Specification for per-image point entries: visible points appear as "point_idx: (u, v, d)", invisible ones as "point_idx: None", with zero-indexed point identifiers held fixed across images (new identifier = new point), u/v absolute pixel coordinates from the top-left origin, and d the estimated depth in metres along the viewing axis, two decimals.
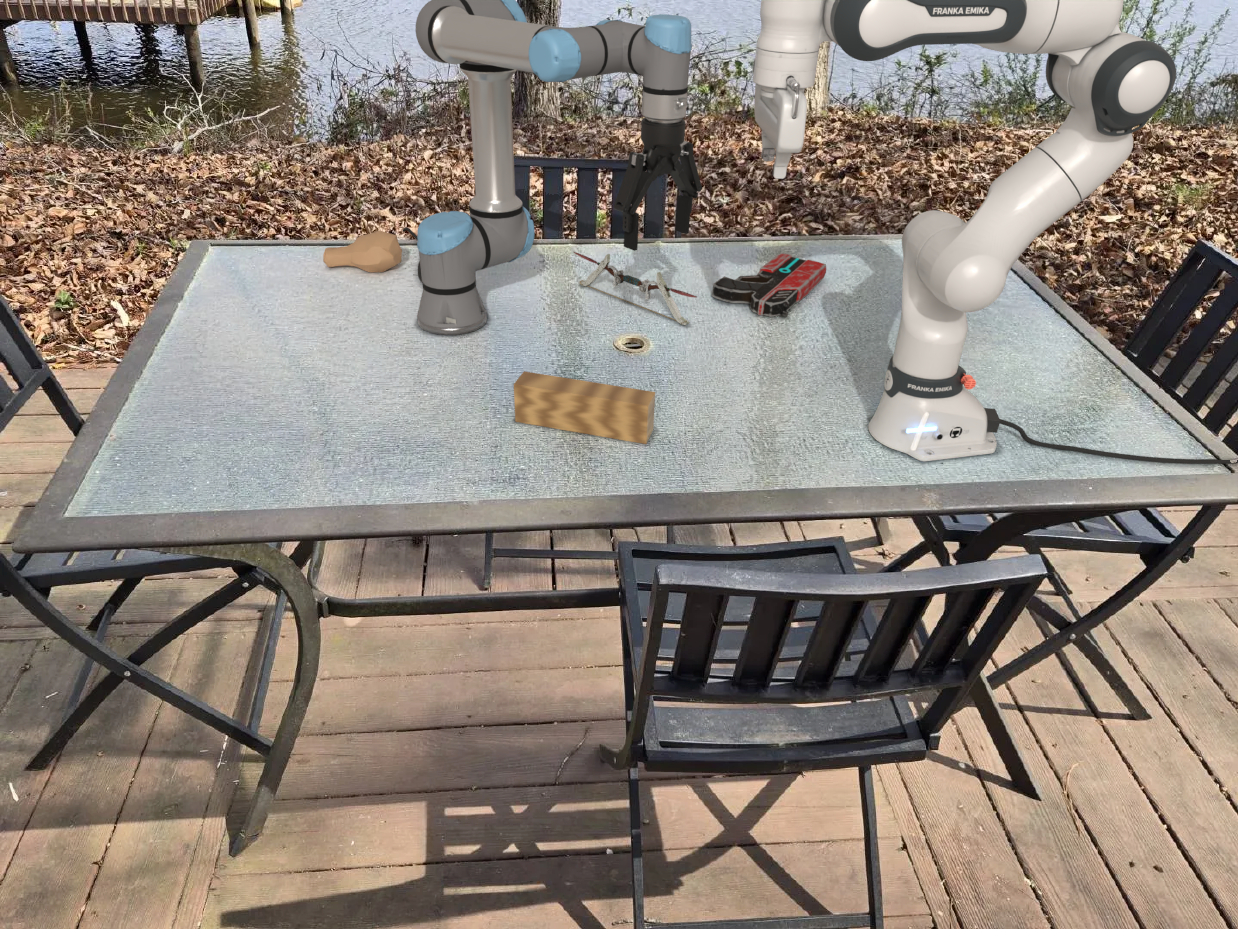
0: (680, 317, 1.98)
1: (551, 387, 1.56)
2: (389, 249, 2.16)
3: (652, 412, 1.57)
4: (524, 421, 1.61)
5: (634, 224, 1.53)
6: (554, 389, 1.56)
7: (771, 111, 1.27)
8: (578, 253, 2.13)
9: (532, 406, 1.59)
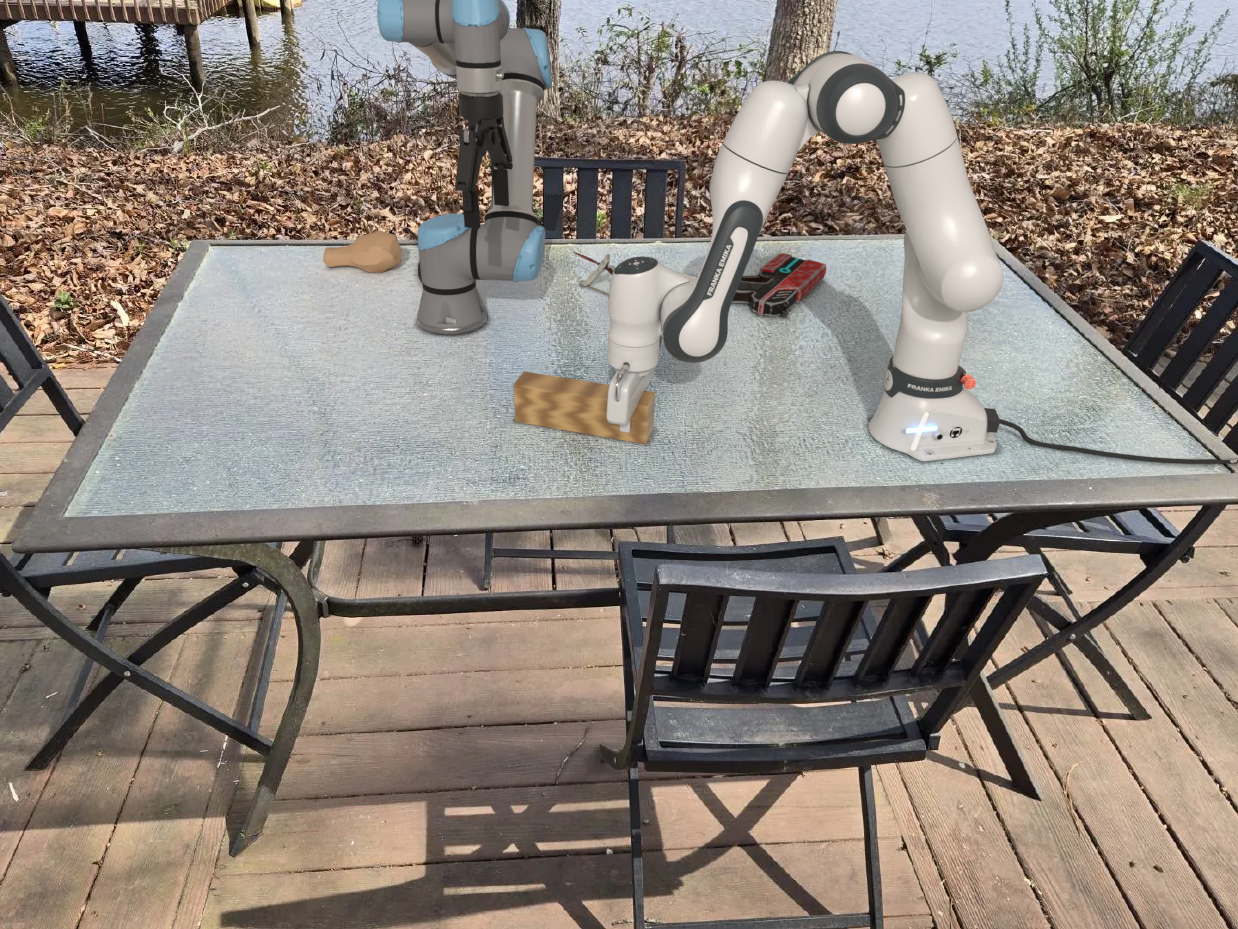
0: None
1: (551, 388, 1.56)
2: (389, 249, 2.16)
3: (652, 412, 1.57)
4: (524, 421, 1.61)
5: (476, 202, 1.52)
6: (554, 389, 1.56)
7: None
8: (578, 253, 2.13)
9: (532, 406, 1.59)
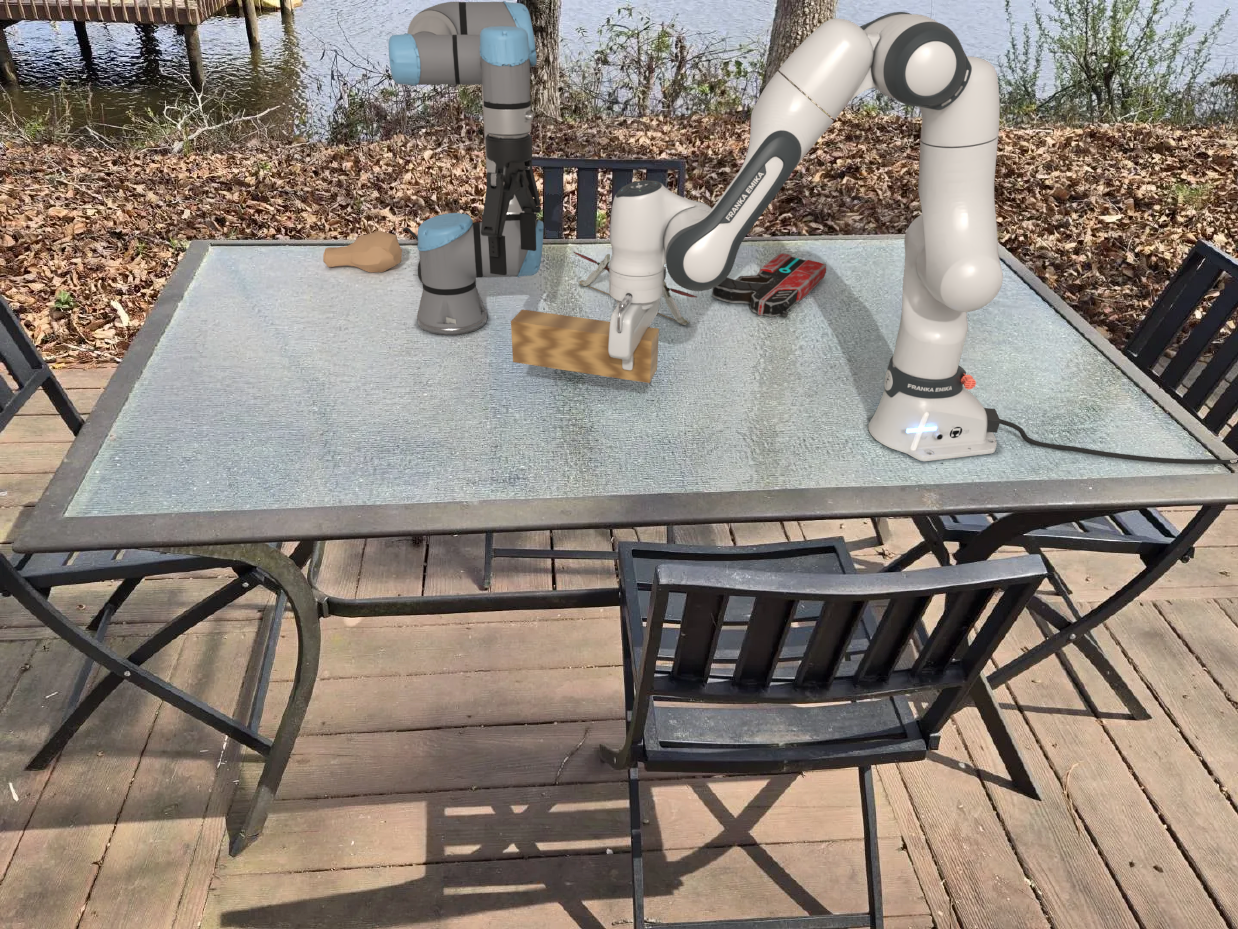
0: (680, 317, 1.98)
1: (550, 324, 1.50)
2: (389, 249, 2.16)
3: (656, 350, 1.50)
4: (522, 361, 1.54)
5: (503, 247, 1.44)
6: (553, 325, 1.49)
7: None
8: (578, 253, 2.13)
9: (531, 344, 1.52)
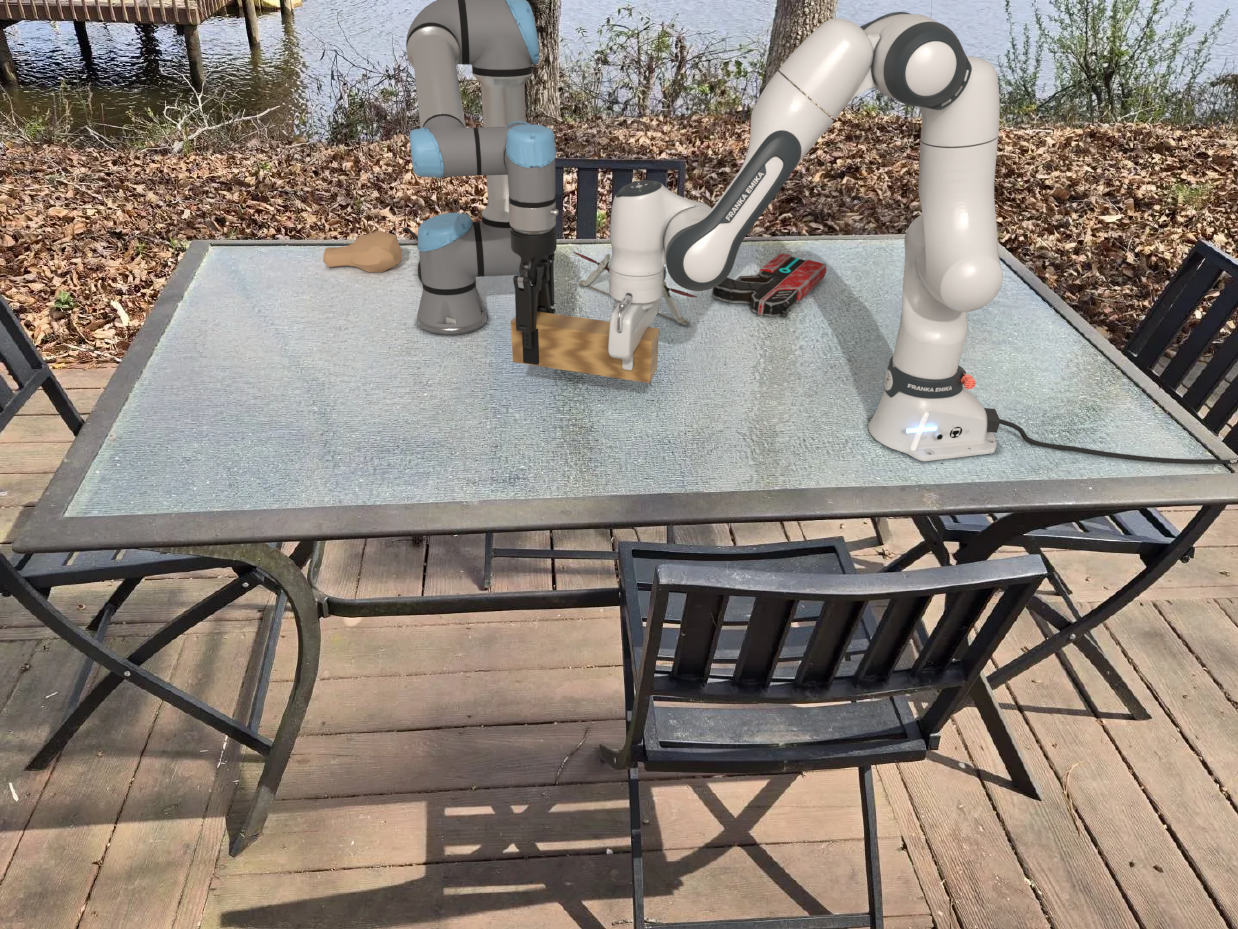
0: (680, 317, 1.98)
1: (550, 324, 1.50)
2: (389, 249, 2.16)
3: (656, 350, 1.50)
4: (522, 361, 1.54)
5: (536, 340, 1.50)
6: (553, 325, 1.49)
7: None
8: (578, 253, 2.13)
9: None
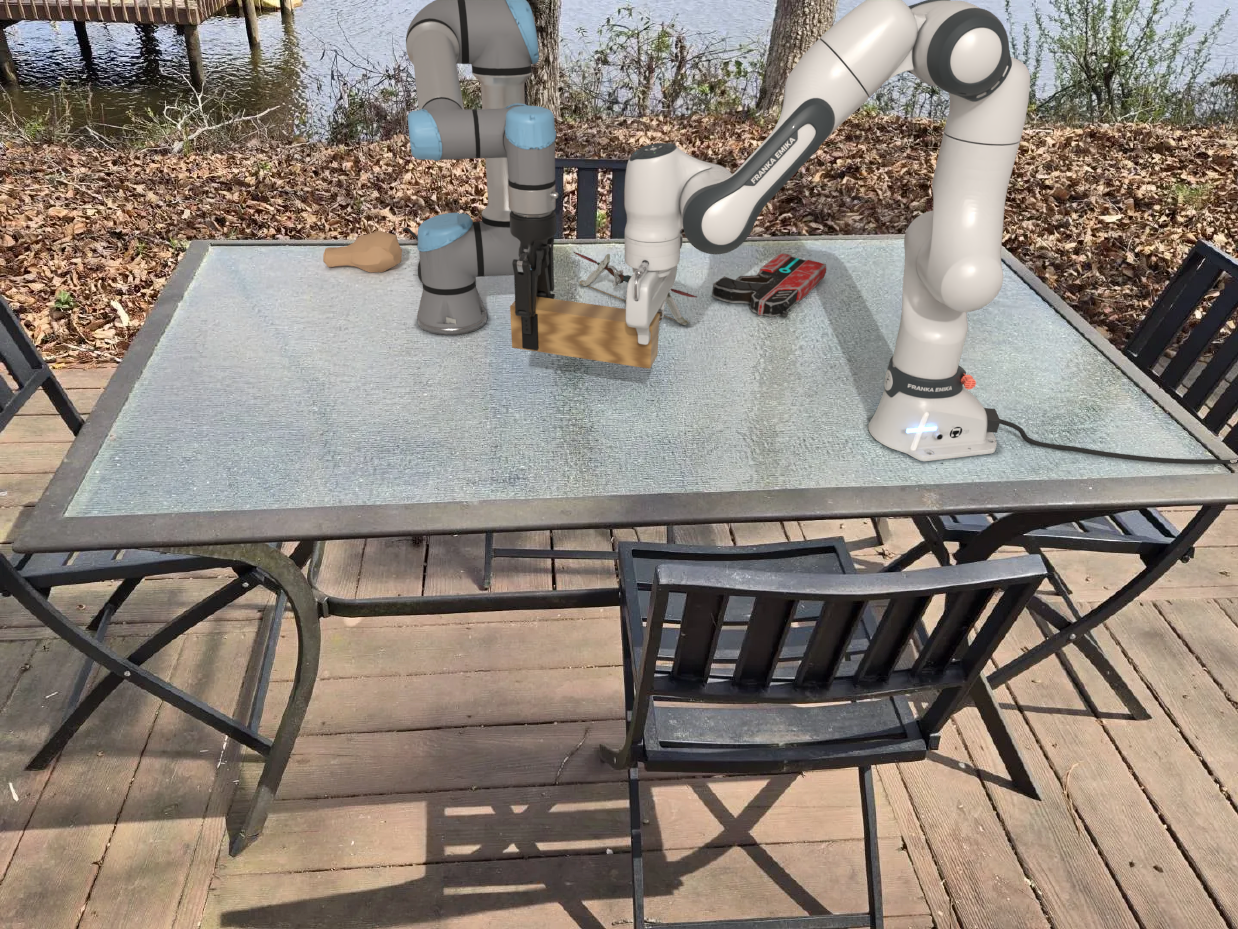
0: (680, 317, 1.98)
1: (549, 309, 1.48)
2: (389, 249, 2.16)
3: (656, 335, 1.48)
4: (521, 347, 1.53)
5: (535, 325, 1.49)
6: (552, 310, 1.48)
7: None
8: (578, 253, 2.13)
9: None
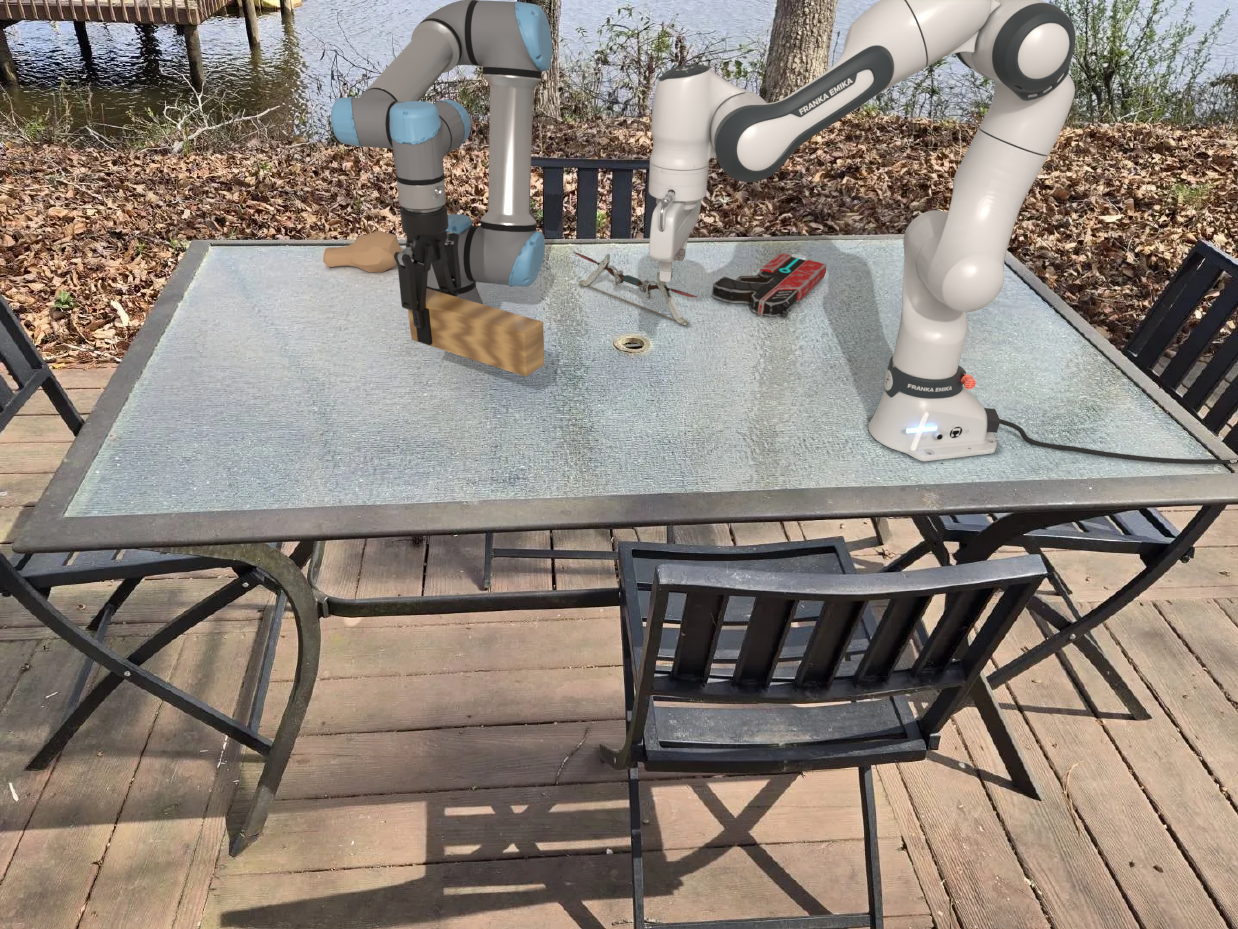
0: (680, 317, 1.98)
1: (440, 305, 1.48)
2: (389, 249, 2.16)
3: (538, 343, 1.44)
4: None
5: (426, 320, 1.49)
6: (442, 307, 1.48)
7: None
8: (578, 253, 2.13)
9: None
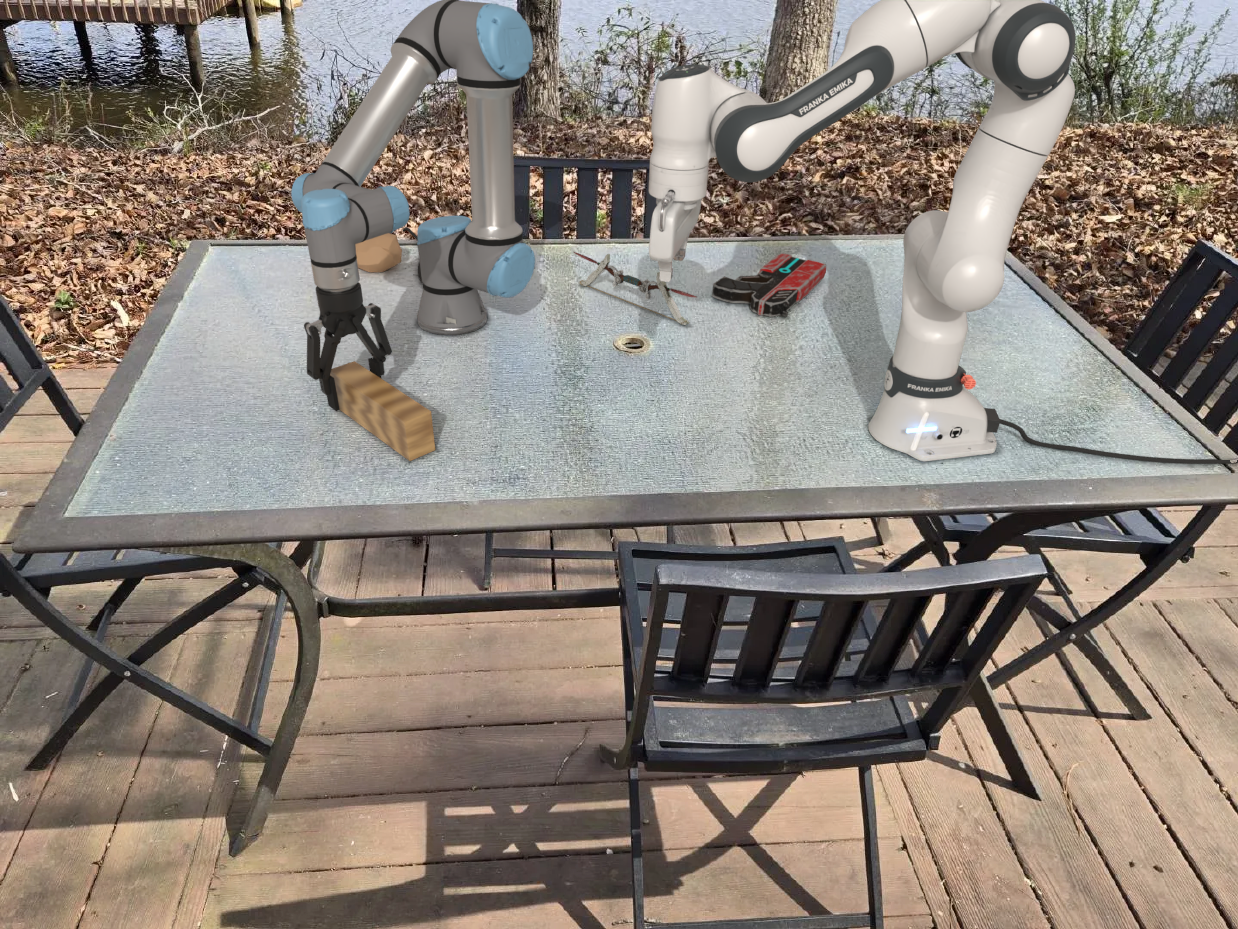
0: (680, 317, 1.98)
1: (352, 381, 1.56)
2: (389, 249, 2.16)
3: (425, 431, 1.49)
4: (340, 408, 1.63)
5: (331, 388, 1.56)
6: (352, 383, 1.56)
7: None
8: (578, 253, 2.13)
9: (342, 395, 1.60)
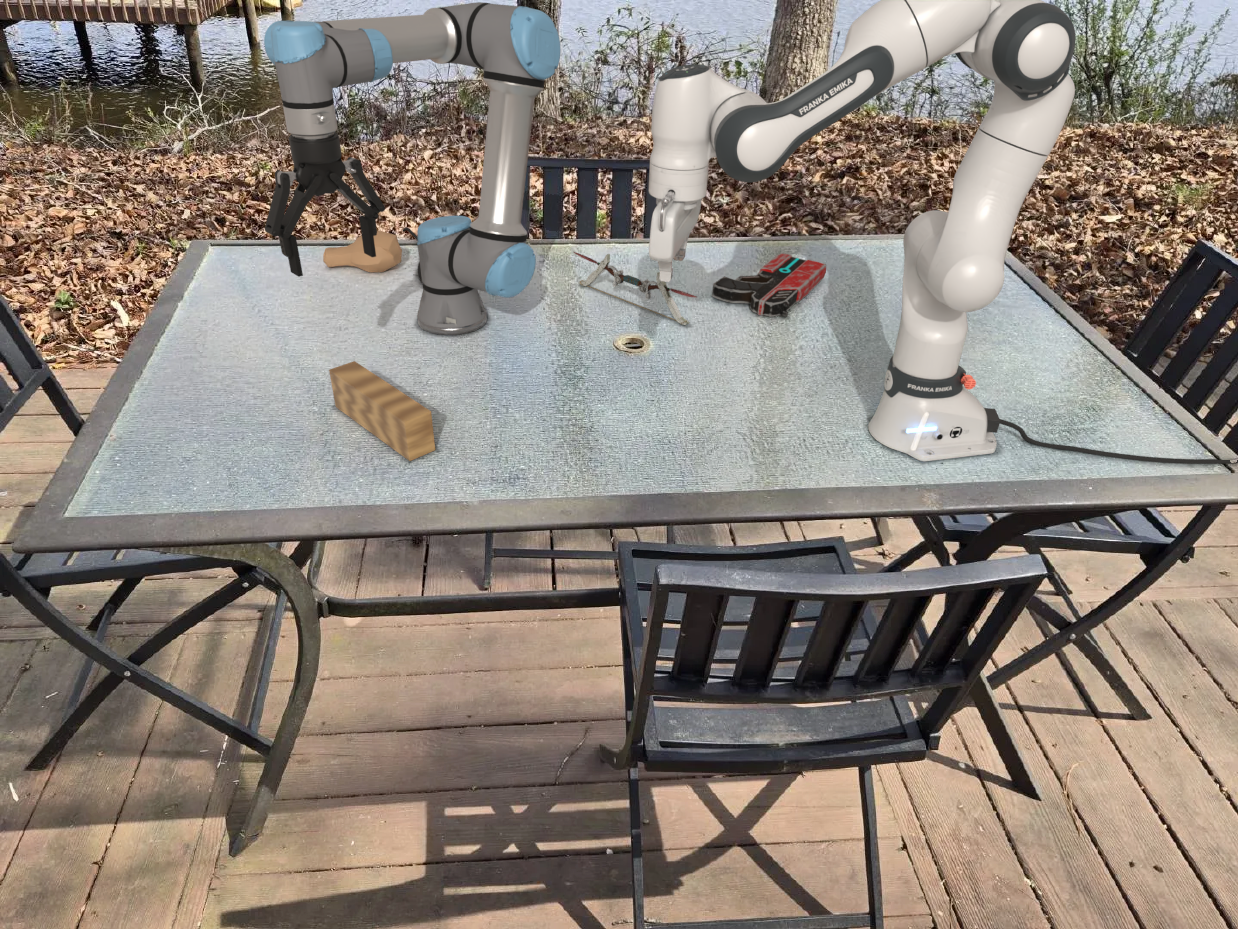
0: (680, 317, 1.98)
1: (352, 381, 1.56)
2: (389, 249, 2.16)
3: (425, 431, 1.49)
4: (340, 408, 1.63)
5: (293, 248, 1.40)
6: (352, 383, 1.56)
7: None
8: (578, 253, 2.13)
9: (342, 395, 1.60)
